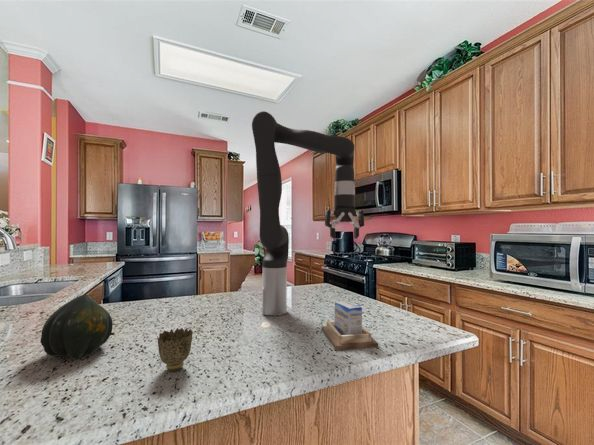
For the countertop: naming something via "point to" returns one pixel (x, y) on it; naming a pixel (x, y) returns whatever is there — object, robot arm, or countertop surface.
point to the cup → (174, 347)
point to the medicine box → (348, 318)
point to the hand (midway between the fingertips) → (344, 238)
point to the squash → (76, 328)
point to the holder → (348, 338)
